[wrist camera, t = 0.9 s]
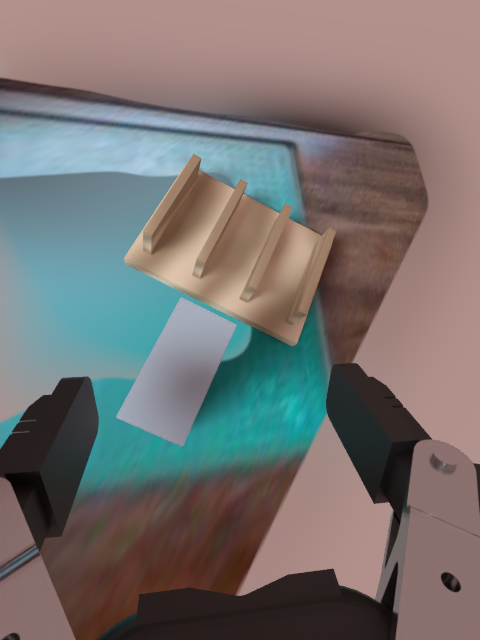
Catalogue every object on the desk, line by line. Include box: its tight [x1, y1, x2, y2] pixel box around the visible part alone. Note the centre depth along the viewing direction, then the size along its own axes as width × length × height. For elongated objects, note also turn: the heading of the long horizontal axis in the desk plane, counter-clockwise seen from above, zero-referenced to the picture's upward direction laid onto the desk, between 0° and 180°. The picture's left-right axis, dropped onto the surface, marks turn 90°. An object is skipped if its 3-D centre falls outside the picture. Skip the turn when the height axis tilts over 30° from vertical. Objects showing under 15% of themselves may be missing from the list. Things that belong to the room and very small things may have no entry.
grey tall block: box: [116, 298, 237, 447], centre depth 22 cm, size 3×6×15 cm, turn 157°
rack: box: [124, 154, 336, 346], centre depth 33 cm, size 18×13×4 cm
